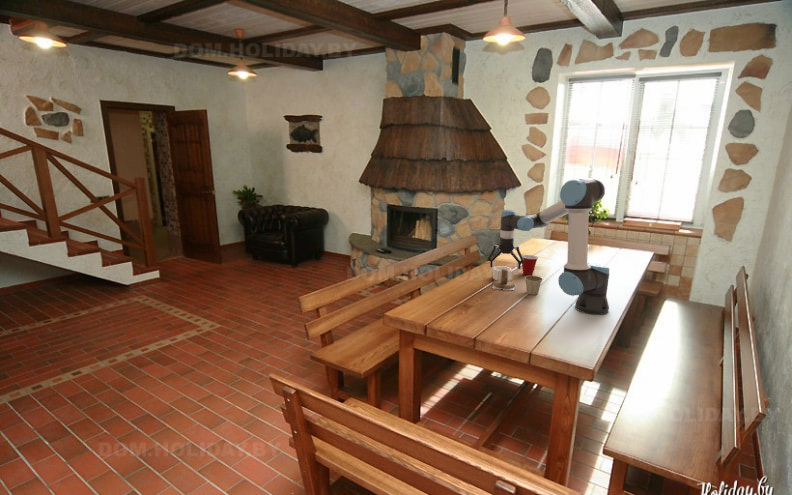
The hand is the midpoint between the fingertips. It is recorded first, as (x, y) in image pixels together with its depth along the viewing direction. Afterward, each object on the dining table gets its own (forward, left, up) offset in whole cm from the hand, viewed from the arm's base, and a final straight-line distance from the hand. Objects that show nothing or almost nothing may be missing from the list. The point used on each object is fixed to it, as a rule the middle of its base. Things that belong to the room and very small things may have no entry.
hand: (504, 273), depth 239 cm
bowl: (+2, -14, -8) cm, 16 cm away
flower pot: (-16, +7, -8) cm, 19 cm away
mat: (0, 0, -8) cm, 8 cm away
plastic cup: (-13, -28, -8) cm, 32 cm away
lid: (0, 0, -7) cm, 7 cm away
